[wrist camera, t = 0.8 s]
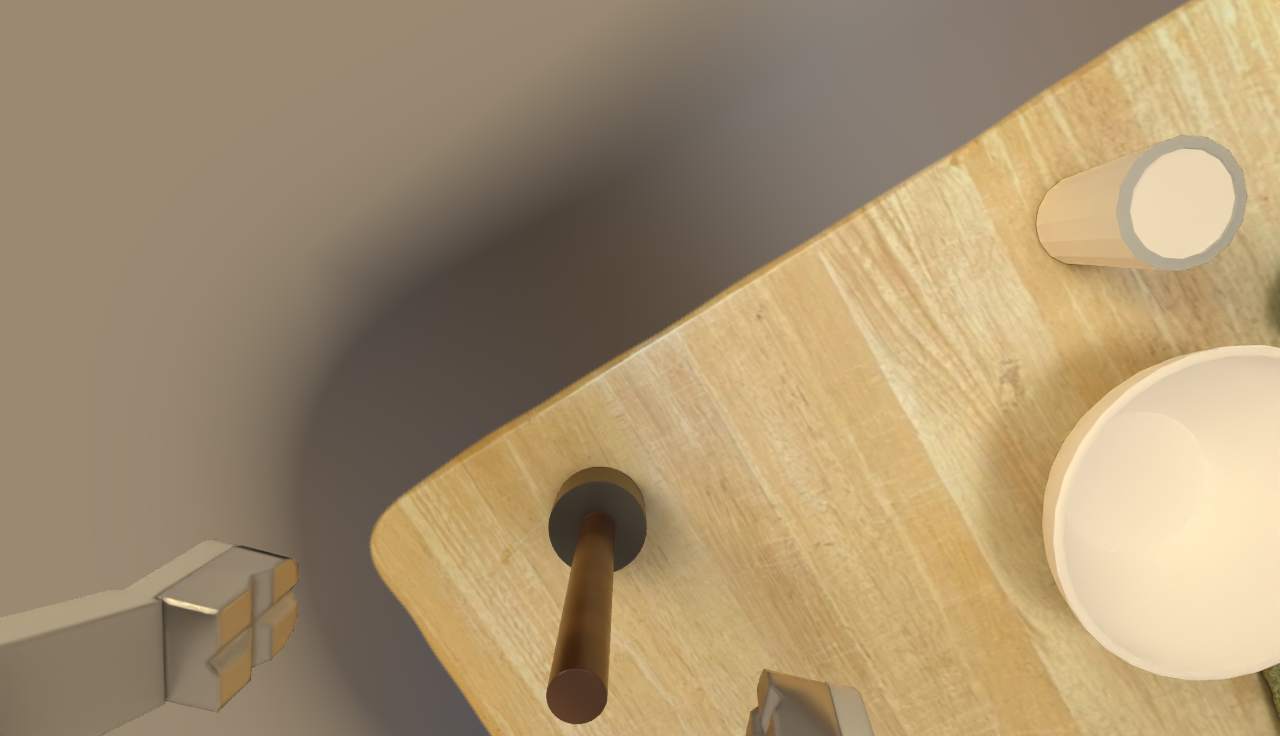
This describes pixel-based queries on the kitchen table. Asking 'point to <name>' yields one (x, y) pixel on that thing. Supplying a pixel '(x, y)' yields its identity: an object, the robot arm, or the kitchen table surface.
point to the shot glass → (1147, 208)
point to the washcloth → (1274, 683)
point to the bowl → (1176, 515)
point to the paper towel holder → (590, 583)
